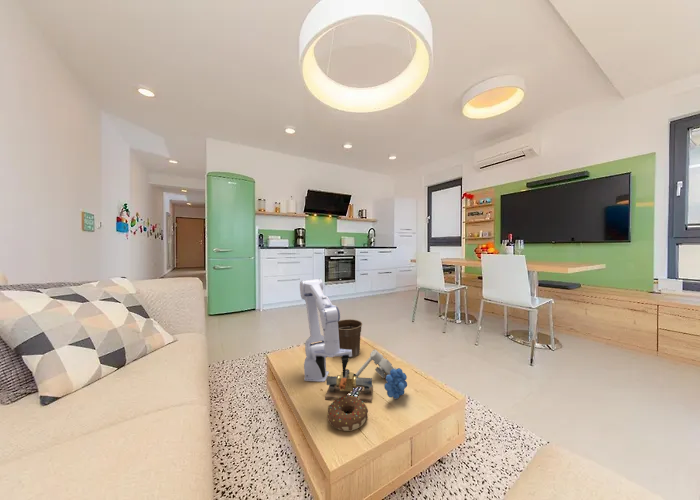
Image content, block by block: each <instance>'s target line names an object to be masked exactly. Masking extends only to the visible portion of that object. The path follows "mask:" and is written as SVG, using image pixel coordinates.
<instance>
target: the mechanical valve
mask: <svg viewBox="0 0 700 500" xmlns="http://www.w3.org/2000/svg"><path fill="white" fill-rule="evenodd" d="M372 361H373V363H374V365H376V366H377V365H378V366H377V367H375V369H374V370H375V372H376V373H377V374H378V375H379V376H380V377H381V378H382V379H384V378H386V376H387V375H388V374H389V375H390V371H391V370H392V369H395V370H396V369H397V368H396V367H393V364H392V363H391V362H390V361H389V360H388V359H387V358H385V357H384V355H383V354H382V353H380V352H379V351H378V350H377V349H372V351H371V352H370V356H369V358H368V359H367V360H366V361H365V362H364V363H363V365H362V366H360V368H359V369H358V370H357V372H356V373H354V376H357V377H360V375H361V374H362V373H363V372H364V370H366V367H367V366H369V364H370V363H372Z"/></svg>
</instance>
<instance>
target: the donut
mask: <svg viewBox="0 0 700 500" xmlns="http://www.w3.org/2000/svg"><path fill="white" fill-rule="evenodd" d="M347 411H348V413H346V412H347ZM368 412H369V410H368V407H367V405H366V403H365V402H363V401H361V400H359V399H358V398H357V397H354V396H346V397H345V396H344V397H340V398H337V399H336V400H332V403H330V404H329V405H328V406H327V417H326V418H327V420H328V422H329V424H330V425H331V426H332V427H333V428H335V429H337V430H339V431H342V432H351V431H354V430H358V429H359V428H360V427H362V426H363V425H364V424H365V423H366V421H367V419H368V414H369V413H368Z"/></svg>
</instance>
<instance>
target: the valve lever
mask: <svg viewBox="0 0 700 500" xmlns="http://www.w3.org/2000/svg"><path fill="white" fill-rule="evenodd" d="M349 374H350V369H348V368H346V370H345V377H343V378H341V381H340V385H339V388H340V389H345V387H346V383H347V377H348V375H349Z"/></svg>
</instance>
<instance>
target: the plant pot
mask: <svg viewBox="0 0 700 500" xmlns="http://www.w3.org/2000/svg"><path fill="white" fill-rule="evenodd" d="M337 322H338V330H339V345H340V349H348V350H352V357H349V359H352V358H356V357H357V356H359V355H360V352H361V335H362V333H361V332H362V326H363V322H362V321H360V320H357V319H342V320H341V319H340V320H339V321H337ZM340 357H341V358H342V357H343V356H340Z"/></svg>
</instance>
